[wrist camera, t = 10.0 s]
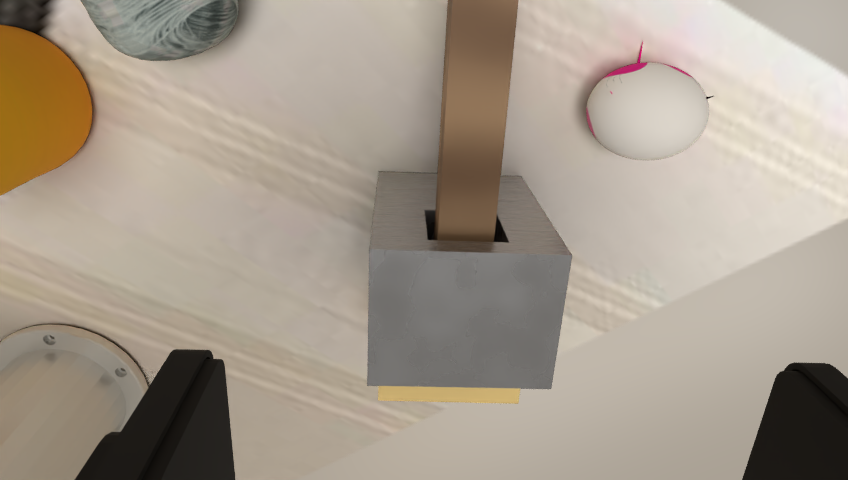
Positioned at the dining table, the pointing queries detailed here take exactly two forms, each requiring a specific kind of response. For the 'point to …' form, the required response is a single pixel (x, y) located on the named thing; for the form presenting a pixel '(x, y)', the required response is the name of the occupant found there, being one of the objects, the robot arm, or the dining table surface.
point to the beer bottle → (38, 107)
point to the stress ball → (647, 111)
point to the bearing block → (463, 292)
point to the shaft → (473, 117)
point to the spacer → (449, 394)
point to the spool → (163, 25)
